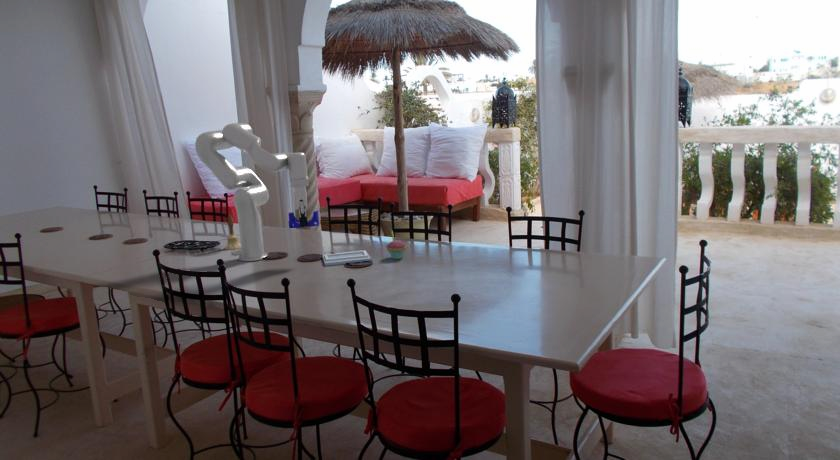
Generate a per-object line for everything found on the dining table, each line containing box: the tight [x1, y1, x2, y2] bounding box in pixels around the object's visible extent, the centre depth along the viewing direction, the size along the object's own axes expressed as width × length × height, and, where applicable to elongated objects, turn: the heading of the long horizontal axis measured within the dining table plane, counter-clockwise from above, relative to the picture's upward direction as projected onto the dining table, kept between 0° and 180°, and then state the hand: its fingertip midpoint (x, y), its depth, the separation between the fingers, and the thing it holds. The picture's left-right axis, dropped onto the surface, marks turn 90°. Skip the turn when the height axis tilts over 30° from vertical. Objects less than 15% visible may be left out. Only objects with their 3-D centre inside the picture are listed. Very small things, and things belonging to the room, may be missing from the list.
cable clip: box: [288, 210, 320, 229], centre depth 270 cm, size 12×4×6 cm, turn 88°
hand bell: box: [224, 214, 241, 251], centre depth 305 cm, size 8×8×16 cm
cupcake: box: [386, 230, 407, 260], centre depth 271 cm, size 9×8×12 cm
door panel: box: [321, 249, 372, 267], centre depth 273 cm, size 19×16×2 cm
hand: (303, 224), depth 271 cm, fingers closed on cable clip, 5 cm apart
